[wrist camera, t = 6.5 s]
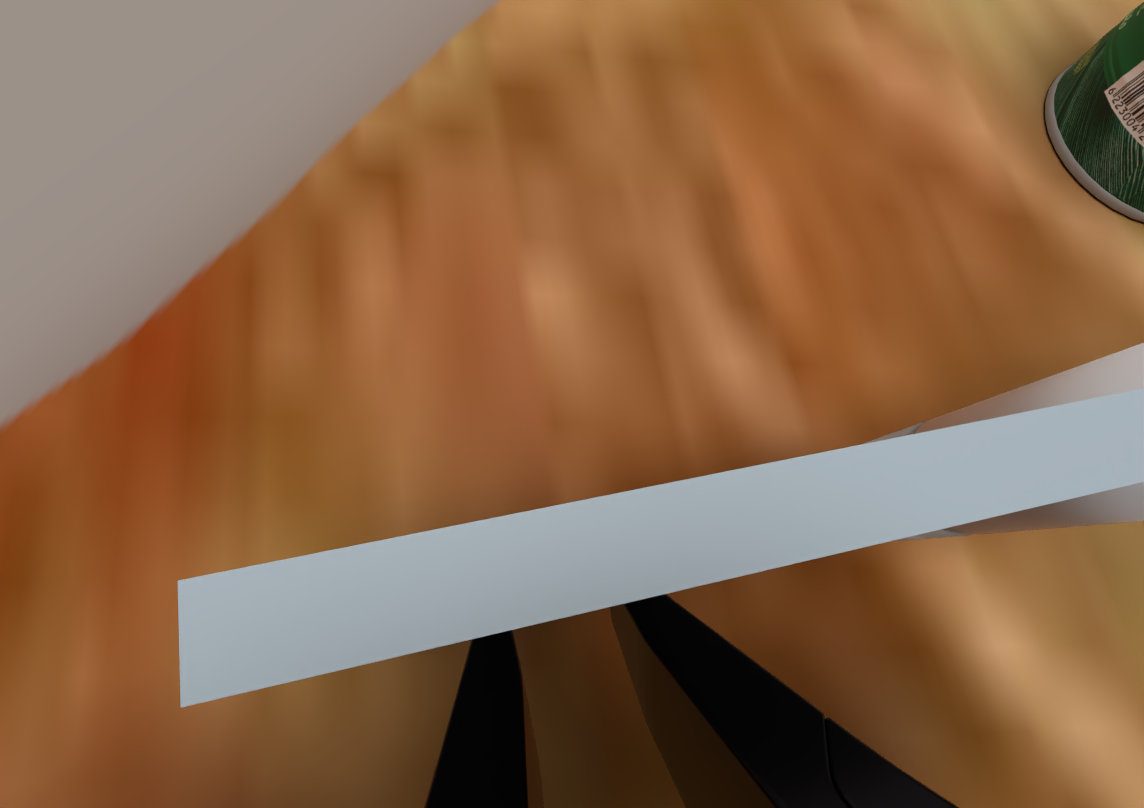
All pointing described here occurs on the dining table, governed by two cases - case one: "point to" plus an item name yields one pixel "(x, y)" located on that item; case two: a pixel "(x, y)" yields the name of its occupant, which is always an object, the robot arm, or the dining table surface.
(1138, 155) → the canned tomato
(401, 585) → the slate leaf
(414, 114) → the dining table surface
